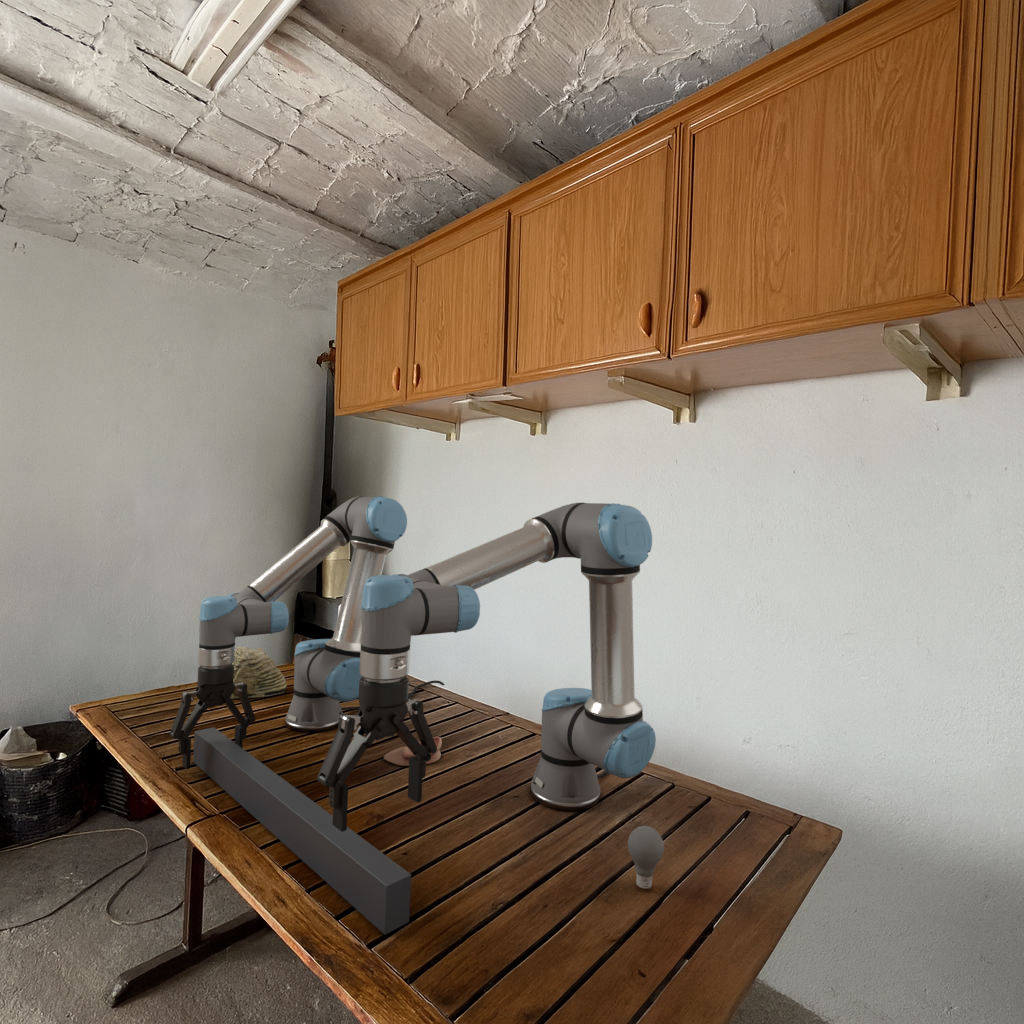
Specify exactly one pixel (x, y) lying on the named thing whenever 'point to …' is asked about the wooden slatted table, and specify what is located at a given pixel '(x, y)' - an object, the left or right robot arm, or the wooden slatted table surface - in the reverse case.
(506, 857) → the wooden slatted table surface
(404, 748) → the anatomical model
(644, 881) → the light bulb
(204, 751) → the post
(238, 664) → the fossil
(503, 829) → the wooden slatted table surface
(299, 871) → the wooden slatted table surface
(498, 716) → the wooden slatted table surface
